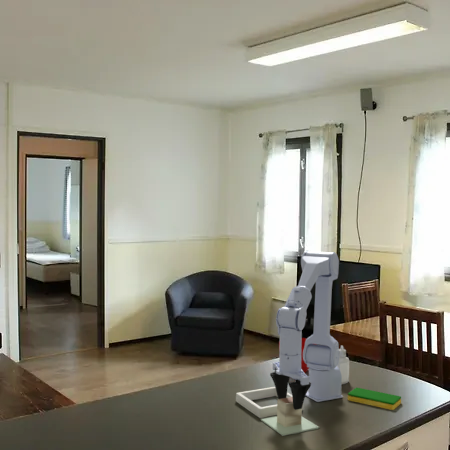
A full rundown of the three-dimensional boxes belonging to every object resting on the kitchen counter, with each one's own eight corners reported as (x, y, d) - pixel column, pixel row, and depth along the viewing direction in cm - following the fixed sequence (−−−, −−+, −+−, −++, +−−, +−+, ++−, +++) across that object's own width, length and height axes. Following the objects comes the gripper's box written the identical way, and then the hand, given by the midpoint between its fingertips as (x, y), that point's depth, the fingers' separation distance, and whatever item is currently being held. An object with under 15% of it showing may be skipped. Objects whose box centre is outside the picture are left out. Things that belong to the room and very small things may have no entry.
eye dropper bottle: (352, 384, 183) (353, 347, 183) (336, 385, 182) (336, 348, 181) (346, 379, 187) (347, 343, 187) (330, 380, 186) (331, 344, 186)
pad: (295, 413, 157) (295, 412, 157) (318, 428, 147) (318, 426, 147) (260, 420, 152) (260, 418, 152) (282, 435, 143) (282, 434, 143)
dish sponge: (356, 394, 175) (356, 386, 174) (401, 404, 167) (401, 396, 167) (347, 401, 169) (347, 393, 169) (393, 411, 161) (393, 403, 161)
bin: (276, 394, 173) (277, 386, 173) (303, 410, 160) (303, 401, 160) (235, 401, 167) (236, 392, 166) (259, 418, 154) (259, 408, 154)
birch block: (293, 418, 153) (293, 396, 153) (301, 423, 149) (301, 400, 149) (277, 421, 151) (277, 398, 150) (285, 427, 147) (285, 403, 147)
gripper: (263, 347, 154) (262, 397, 154) (292, 361, 141) (291, 415, 141) (285, 344, 157) (284, 393, 158) (316, 358, 144) (315, 411, 145)
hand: (289, 403), depth 150 cm, fingers open, 7 cm apart
